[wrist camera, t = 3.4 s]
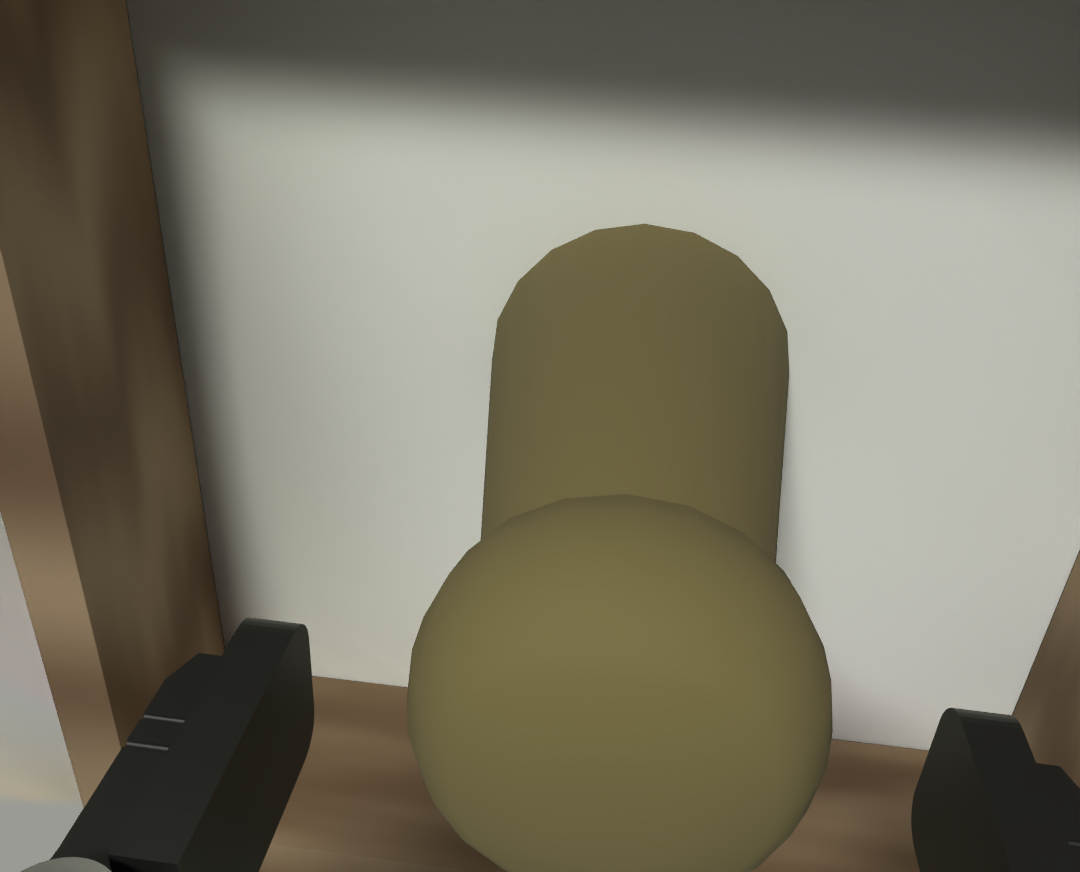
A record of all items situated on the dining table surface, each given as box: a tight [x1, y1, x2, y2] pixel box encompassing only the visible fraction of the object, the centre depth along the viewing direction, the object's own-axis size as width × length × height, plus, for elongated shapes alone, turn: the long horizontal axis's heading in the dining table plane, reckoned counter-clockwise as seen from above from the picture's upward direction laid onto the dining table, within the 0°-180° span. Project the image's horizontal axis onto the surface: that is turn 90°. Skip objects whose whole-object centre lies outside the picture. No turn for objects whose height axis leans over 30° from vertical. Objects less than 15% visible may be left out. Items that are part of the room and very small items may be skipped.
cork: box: [407, 224, 833, 872], centre depth 16 cm, size 6×6×11 cm
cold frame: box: [0, 0, 1080, 872], centre depth 18 cm, size 22×22×5 cm
